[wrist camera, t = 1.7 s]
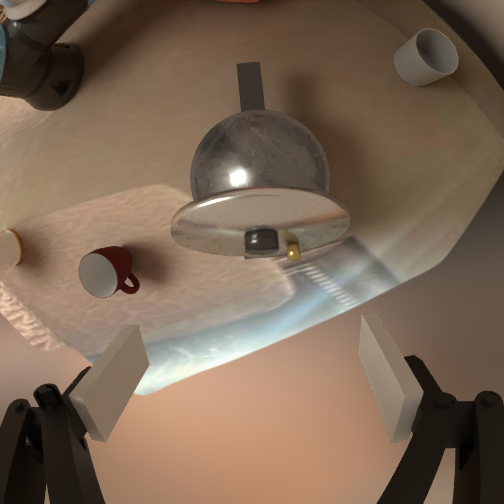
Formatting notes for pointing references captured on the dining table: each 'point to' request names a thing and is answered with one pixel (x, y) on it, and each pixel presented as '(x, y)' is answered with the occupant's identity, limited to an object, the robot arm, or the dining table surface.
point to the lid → (260, 222)
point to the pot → (258, 147)
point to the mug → (107, 272)
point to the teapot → (241, 1)
